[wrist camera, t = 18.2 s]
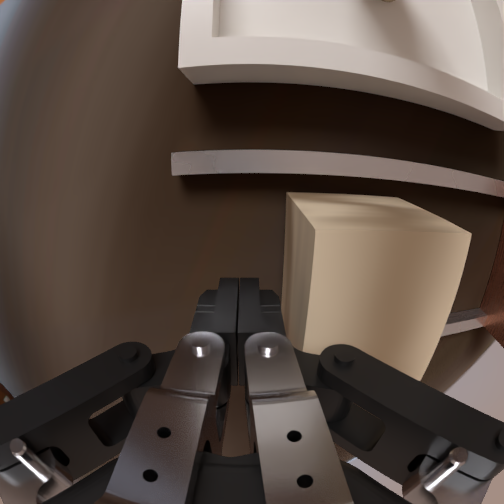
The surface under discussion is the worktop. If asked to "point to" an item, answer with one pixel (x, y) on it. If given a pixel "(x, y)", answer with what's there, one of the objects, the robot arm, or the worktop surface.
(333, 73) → the tray
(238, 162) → the track
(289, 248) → the block
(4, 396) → the food container
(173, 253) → the worktop surface
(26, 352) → the worktop surface
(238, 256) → the worktop surface
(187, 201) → the worktop surface
